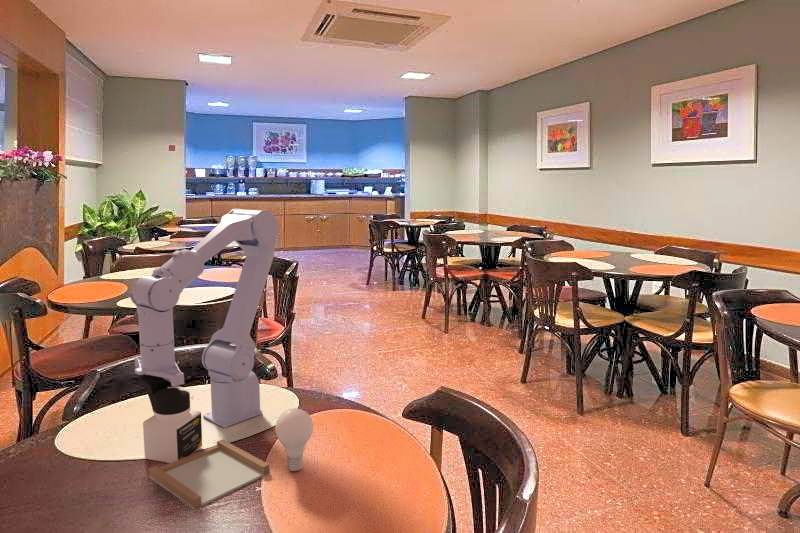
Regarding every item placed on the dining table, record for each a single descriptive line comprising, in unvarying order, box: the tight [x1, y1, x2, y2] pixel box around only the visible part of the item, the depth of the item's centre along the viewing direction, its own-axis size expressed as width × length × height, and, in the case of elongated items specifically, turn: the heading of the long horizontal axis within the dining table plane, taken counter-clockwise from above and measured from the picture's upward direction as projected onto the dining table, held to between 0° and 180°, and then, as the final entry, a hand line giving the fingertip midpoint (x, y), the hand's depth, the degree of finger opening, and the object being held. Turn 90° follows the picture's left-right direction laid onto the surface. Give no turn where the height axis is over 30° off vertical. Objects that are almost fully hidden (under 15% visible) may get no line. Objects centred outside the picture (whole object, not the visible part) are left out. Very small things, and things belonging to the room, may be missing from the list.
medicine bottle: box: [142, 386, 203, 464], centre depth 100 cm, size 7×7×12 cm
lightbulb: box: [274, 407, 314, 472], centre depth 95 cm, size 6×6×11 cm
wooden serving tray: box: [148, 439, 271, 510], centre depth 94 cm, size 14×14×2 cm
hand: (160, 412), depth 103 cm, fingers closed, pressing on medicine bottle
